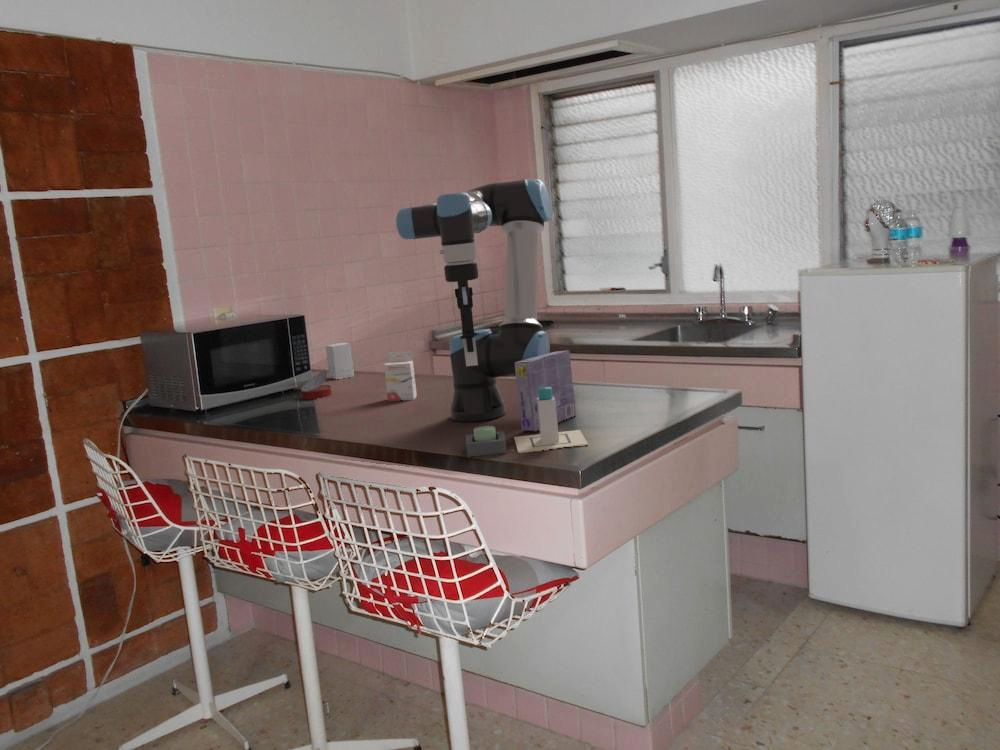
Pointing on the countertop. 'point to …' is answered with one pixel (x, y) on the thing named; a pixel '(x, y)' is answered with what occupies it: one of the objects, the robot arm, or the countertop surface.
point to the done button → (484, 433)
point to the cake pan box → (544, 374)
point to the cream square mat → (535, 444)
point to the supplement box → (340, 360)
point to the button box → (486, 445)
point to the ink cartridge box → (400, 377)
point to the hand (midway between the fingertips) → (472, 365)
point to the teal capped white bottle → (547, 415)
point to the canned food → (316, 387)
